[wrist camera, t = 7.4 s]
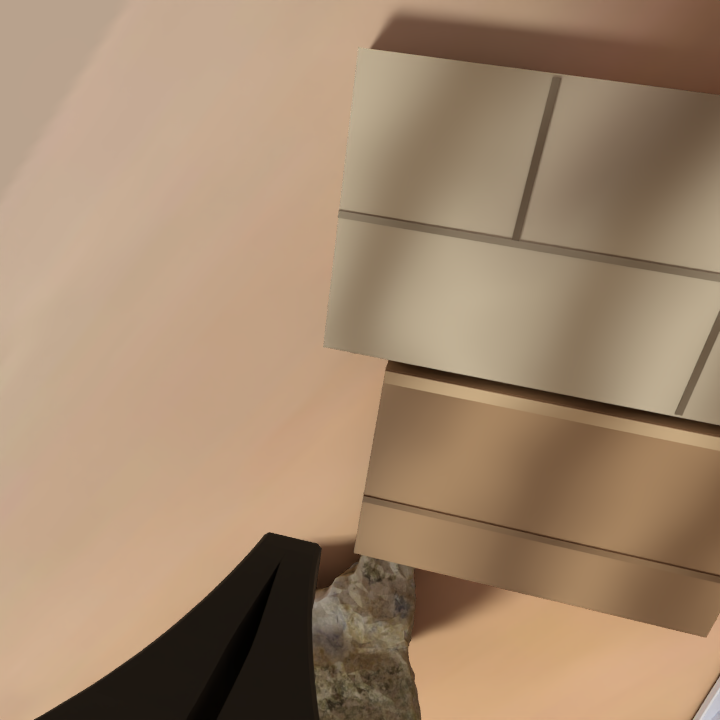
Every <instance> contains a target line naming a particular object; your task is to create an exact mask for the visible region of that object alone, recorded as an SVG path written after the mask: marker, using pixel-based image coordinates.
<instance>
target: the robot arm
mask: <svg viewBox="0 0 720 720" xmlns="http://www.w3.org/2000/svg"><path fill="white" fill-rule="evenodd" d="M320 557H321V547H320V546H319V545H318V544H317V543H312V542H308V541H304V540H300V539H296V538H291V537H287V536H283V535H279V534H274V533H270V532H269V533H267V534H265V535H264V536H263V537H262V539H261V540H260V541H259V542H258V543H257V545H256V546H255V547H254V548H253V549H252V550H251V551H250V553H249V554H248V555H247V556H246V557H245V558H244V559H243V560H242V561H241V562H240V563H239V564H238V565H237V567H236V568H235V569H234V570H233V571H232V572H231V573H230V574H229V575H228V576H227V577H226V578H225V579H224V580H223V581H222V582H221V583H220V584H219V585H218V586H217V587H216V588H215V589H214V590H213V591H212V592H210V593H209V594H208V595H207V596H206V597H205V598H204V599H203V600H202V601H201V602H200V603H199V604H197V605H196V606H195V607H194V608H193V609H192V610H191V611H189V612H188V613H187V614H186V615H185V616H184V617H183V618H182V619H180V620H179V621H178V622H177V623H176V624H175V625H173V626H172V627H171V628H170V629H169V630H167V631H166V632H165V633H164V634H162V635H161V636H160V637H159V638H157V639H156V640H155V641H153V642H152V643H151V644H150V645H148V646H147V647H146V648H144V649H143V650H142V651H140V652H139V653H138V654H136V655H135V656H133V657H132V658H131V659H129V660H128V661H126V662H125V663H124V664H122V665H121V666H119V667H118V668H116V669H115V670H114V671H112V672H111V673H109V674H108V675H106V676H105V677H103V678H102V679H100V680H99V681H97V682H96V683H94V684H93V685H91V686H90V687H88V688H86V689H85V690H83V691H81V692H80V693H78V694H76V695H75V696H73V697H71V698H70V699H68V700H67V701H65V702H63V703H62V704H60V705H58V706H57V707H55V708H53V709H52V710H50V711H48V712H47V713H45V714H43V715H42V716H40V717H38V718H36V719H34V720H320V719H319V711H318V704H317V694H316V685H315V674H314V661H313V641H312V609H313V605H314V600H315V592H316V585H317V578H318V571H319V564H320ZM693 720H720V677H719V679H718V680H717V682H716V683H715V685H714V687H713V688H712V690H711V691H710V693H709V695H708V696H707V698H706V699H705V701H704V703H703V704H702V706H701V707H700V709H699V711H698V712H697V714H696V715H695V717H694V719H693Z"/></svg>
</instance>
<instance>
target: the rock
mask: <svg viewBox="0 0 720 720" xmlns="http://www.w3.org/2000/svg"><path fill="white" fill-rule="evenodd" d="M414 570H415V568H414V567H410V566H406V565H402V564H398V563H394V562H389V561H385V560H381V559H377V558H373V557H369V556H364V555H361V557H360V560H359V562H355V563H354V564H353V565H352V566H351V567H350V568H349V569H348V570H346V571H345V572H344V573H343V574H340V575H339V576H338V577H337V578H335V580H334V582H333V583H332V585H330V586H329V587H325V588H323V589H318V590H316V592H315V600H314V605H313V609H312V641H313V661H314V674H315V685H316V694H317V704H318V711H319V719H320V720H421V712H420V706H419V701H418V693H417V688H416V685H415V682H414V680H415V674H414V672H413V670H412V668H411V666H410V662H409V656H408V646H409V643H410V641H411V634H412V629H413V624H414V610H415V602H416V595H415V587H416V586H415V581H414Z"/></svg>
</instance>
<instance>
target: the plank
mask: <svg viewBox="0 0 720 720" xmlns="http://www.w3.org/2000/svg"><path fill="white" fill-rule="evenodd" d="M354 553H356V554H360V555H364V556H369V557H373V558H377V559H381V560H385V561H389V562H394V563H398V564H402V565H406V566H410V567H414V568H418V569H423V570H427V571H431V572H435V573H439V574H443V575H448V576H452V577H456V578H460V579H464V580H468V581H473V582H477V583H481V584H485V585H489V586H493V587H498V588H502V589H506V590H510V591H514V592H518V593H522V594H527V595H531V596H535V597H539V598H543V599H547V600H552V601H556V602H560V603H564V604H568V605H572V606H577V607H581V608H585V609H589V610H593V611H597V612H602V613H606V614H610V615H614V616H618V617H622V618H627V619H631V620H635V621H639V622H643V623H647V624H651V625H656V626H660V627H664V628H668V629H672V630H676V631H681V632H685V633H689V634H693V635H697V636H701V637H707V635H708V633H709V632H710V630H711V628H712V626H713V624H714V622H715V621H716V619H717V617H718V615H719V613H720V425H716V424H711V423H706V422H701V421H696V420H690V419H685V418H680V417H675V416H670V415H665V414H660V413H655V412H650V411H645V410H640V409H635V408H630V407H625V406H620V405H615V404H609V403H604V402H599V401H594V400H589V399H584V398H579V397H574V396H569V395H564V394H559V393H554V392H549V391H544V390H539V389H534V388H528V387H523V386H518V385H513V384H508V383H503V382H498V381H493V380H488V379H483V378H478V377H473V376H468V375H463V374H458V373H453V372H447V371H442V370H437V369H432V368H427V367H422V366H417V365H412V364H407V363H402V362H397V361H392V360H389V361H388V364H387V367H386V370H385V375H384V381H383V387H382V393H381V399H380V405H379V410H378V416H377V422H376V428H375V433H374V439H373V445H372V450H371V456H370V462H369V468H368V473H367V479H366V485H365V491H364V496H363V501H362V508H361V513H360V519H359V525H358V531H357V536H356V542H355V548H354Z"/></svg>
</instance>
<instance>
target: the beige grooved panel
mask: <svg viewBox="0 0 720 720" xmlns="http://www.w3.org/2000/svg"><path fill="white" fill-rule="evenodd" d="M323 347H326V348H331V349H336V350H341V351H346V352H351V353H356V354H361V355H366V356H372V357H377V358H382V359H387V360H392V361H397V362H402V363H407V364H412V365H417V366H422V367H427V368H432V369H437V370H442V371H447V372H453V373H458V374H463V375H468V376H473V377H478V378H483V379H488V380H493V381H498V382H503V383H508V384H513V385H518V386H523V387H528V388H534V389H539V390H544V391H549V392H554V393H559V394H564V395H569V396H574V397H579V398H584V399H589V400H594V401H599V402H604V403H609V404H615V405H620V406H625V407H630V408H635V409H640V410H645V411H650V412H655V413H660V414H665V415H670V416H675V417H680V418H685V419H690V420H696V421H701V422H706V423H711V424H716V425H720V95H716V94H708V93H701V92H693V91H686V90H678V89H670V88H663V87H655V86H648V85H640V84H632V83H625V82H617V81H610V80H602V79H595V78H587V77H579V76H572V75H564V74H557V73H549V72H542V71H534V70H526V69H519V68H511V67H504V66H496V65H488V64H481V63H473V62H466V61H458V60H451V59H443V58H435V57H428V56H420V55H413V54H405V53H398V52H390V51H382V50H375V49H367V48H360V47H358V54H357V62H356V71H355V80H354V88H353V97H352V105H351V114H350V122H349V131H348V140H347V148H346V157H345V165H344V174H343V182H342V191H341V200H340V208H339V214H338V225H337V234H336V242H335V251H334V260H333V268H332V277H331V285H330V294H329V302H328V311H327V320H326V328H325V337H324V345H323Z"/></svg>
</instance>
